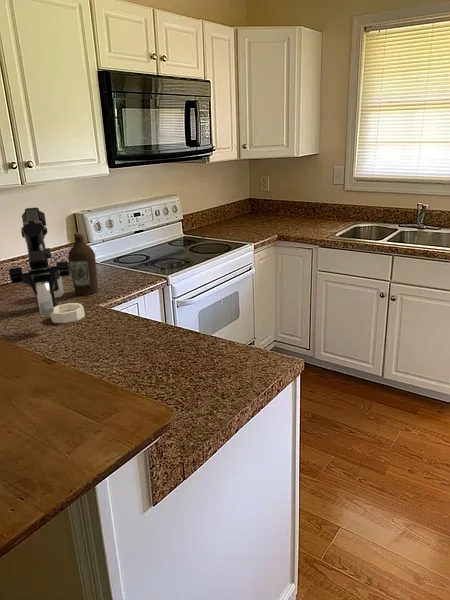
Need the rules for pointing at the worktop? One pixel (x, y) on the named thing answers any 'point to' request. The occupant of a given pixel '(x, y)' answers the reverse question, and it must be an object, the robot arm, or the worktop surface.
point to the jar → (60, 285)
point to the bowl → (67, 313)
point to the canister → (44, 298)
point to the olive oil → (83, 267)
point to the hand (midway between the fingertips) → (43, 293)
